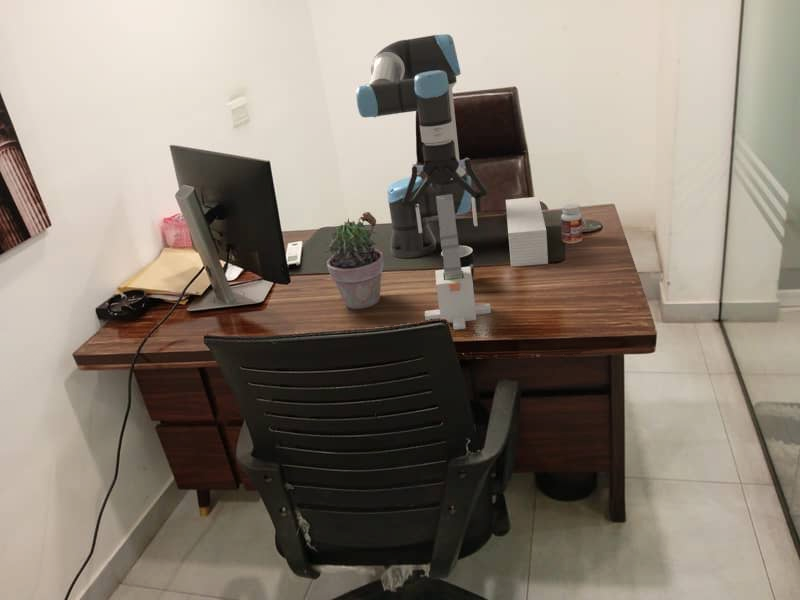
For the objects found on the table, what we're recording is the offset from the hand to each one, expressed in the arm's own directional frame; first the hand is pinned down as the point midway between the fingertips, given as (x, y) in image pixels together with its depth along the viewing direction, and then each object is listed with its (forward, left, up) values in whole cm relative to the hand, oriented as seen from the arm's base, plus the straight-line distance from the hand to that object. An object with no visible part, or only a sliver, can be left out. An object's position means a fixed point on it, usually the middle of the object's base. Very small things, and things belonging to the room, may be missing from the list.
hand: (447, 228), depth 164 cm
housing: (0, 0, -24) cm, 24 cm away
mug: (-20, +2, -24) cm, 31 cm away
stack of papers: (-43, +24, -24) cm, 54 cm away
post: (0, 0, -17) cm, 17 cm away
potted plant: (-14, -27, -24) cm, 39 cm away
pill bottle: (-42, +38, -24) cm, 61 cm away
